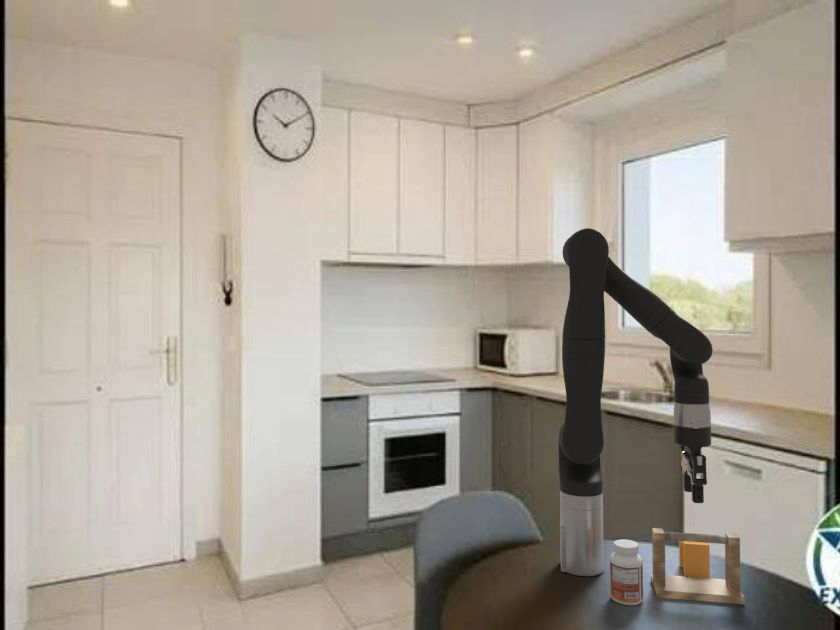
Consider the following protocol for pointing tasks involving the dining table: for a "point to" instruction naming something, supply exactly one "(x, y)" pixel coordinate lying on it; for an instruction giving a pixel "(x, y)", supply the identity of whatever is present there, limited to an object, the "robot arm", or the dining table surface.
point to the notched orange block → (694, 559)
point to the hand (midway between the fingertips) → (693, 497)
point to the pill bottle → (626, 573)
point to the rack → (697, 586)
